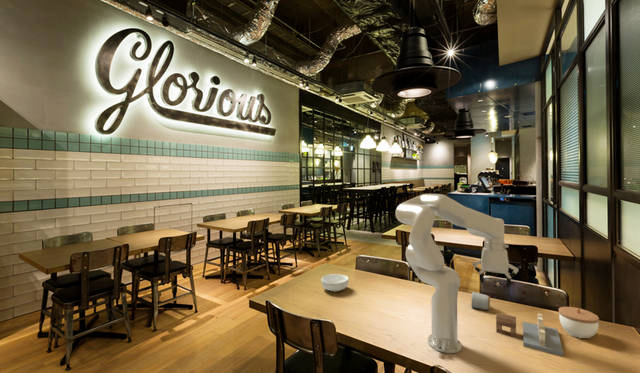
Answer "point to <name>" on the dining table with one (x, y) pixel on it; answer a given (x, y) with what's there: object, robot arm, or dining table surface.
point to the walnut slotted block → (506, 323)
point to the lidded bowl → (578, 322)
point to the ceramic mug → (480, 301)
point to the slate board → (550, 339)
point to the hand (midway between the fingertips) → (494, 284)
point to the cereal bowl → (334, 282)
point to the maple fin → (541, 329)
